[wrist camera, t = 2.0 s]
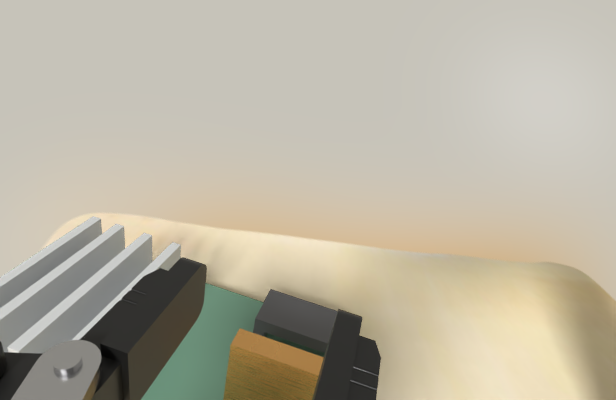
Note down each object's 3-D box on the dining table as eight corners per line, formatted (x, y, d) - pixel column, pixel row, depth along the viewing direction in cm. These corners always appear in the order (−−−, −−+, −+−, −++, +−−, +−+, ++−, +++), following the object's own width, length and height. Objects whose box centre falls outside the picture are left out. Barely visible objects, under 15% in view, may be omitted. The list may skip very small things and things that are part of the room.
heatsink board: (274, 732, 19) (321, 664, 13) (-135, 533, 22) (-228, 415, 17) (351, 347, 40) (382, 261, 34) (136, 274, 43) (133, 184, 37)
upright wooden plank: (289, 486, 26) (324, 377, 20) (215, 456, 26) (230, 344, 21) (311, 404, 31) (344, 301, 26) (249, 381, 32) (268, 276, 26)
